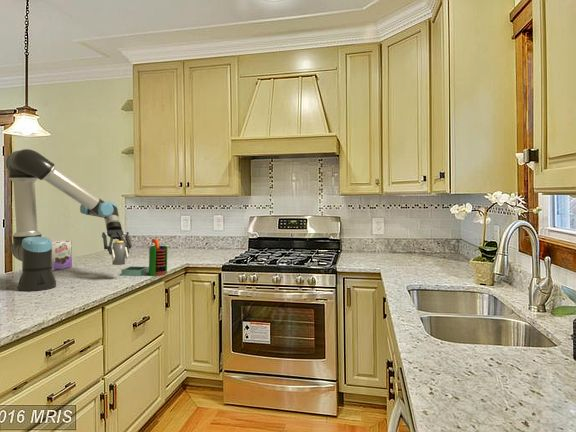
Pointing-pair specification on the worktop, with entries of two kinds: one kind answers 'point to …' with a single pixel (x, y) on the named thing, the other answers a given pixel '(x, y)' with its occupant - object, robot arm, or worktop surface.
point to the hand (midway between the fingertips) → (120, 258)
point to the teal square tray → (135, 271)
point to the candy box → (61, 255)
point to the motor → (157, 259)
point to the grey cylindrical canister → (119, 253)
